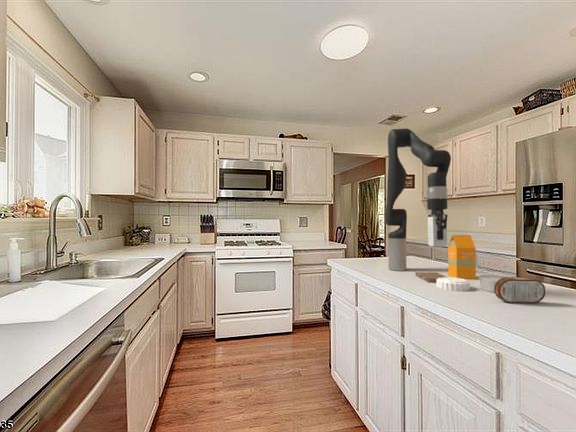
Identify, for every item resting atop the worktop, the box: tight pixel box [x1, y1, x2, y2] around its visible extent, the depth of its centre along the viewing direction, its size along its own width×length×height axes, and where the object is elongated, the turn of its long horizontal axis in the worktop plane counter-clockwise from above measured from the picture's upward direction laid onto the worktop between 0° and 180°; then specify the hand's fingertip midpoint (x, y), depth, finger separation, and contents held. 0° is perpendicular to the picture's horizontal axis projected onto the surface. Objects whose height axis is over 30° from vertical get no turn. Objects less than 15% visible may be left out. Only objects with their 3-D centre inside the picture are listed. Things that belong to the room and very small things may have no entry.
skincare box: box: [427, 216, 448, 247], centre depth 124 cm, size 6×4×12 cm
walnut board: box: [415, 271, 447, 284], centre depth 140 cm, size 16×10×2 cm, turn 176°
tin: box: [494, 276, 546, 304], centre depth 101 cm, size 15×3×8 cm, turn 84°
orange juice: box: [447, 234, 477, 280], centre depth 143 cm, size 8×9×20 cm
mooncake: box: [436, 276, 471, 292], centre depth 123 cm, size 12×12×4 cm
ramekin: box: [478, 274, 506, 294], centre depth 117 cm, size 11×11×5 cm
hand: (437, 239), depth 124 cm, fingers closed on skincare box, 4 cm apart
